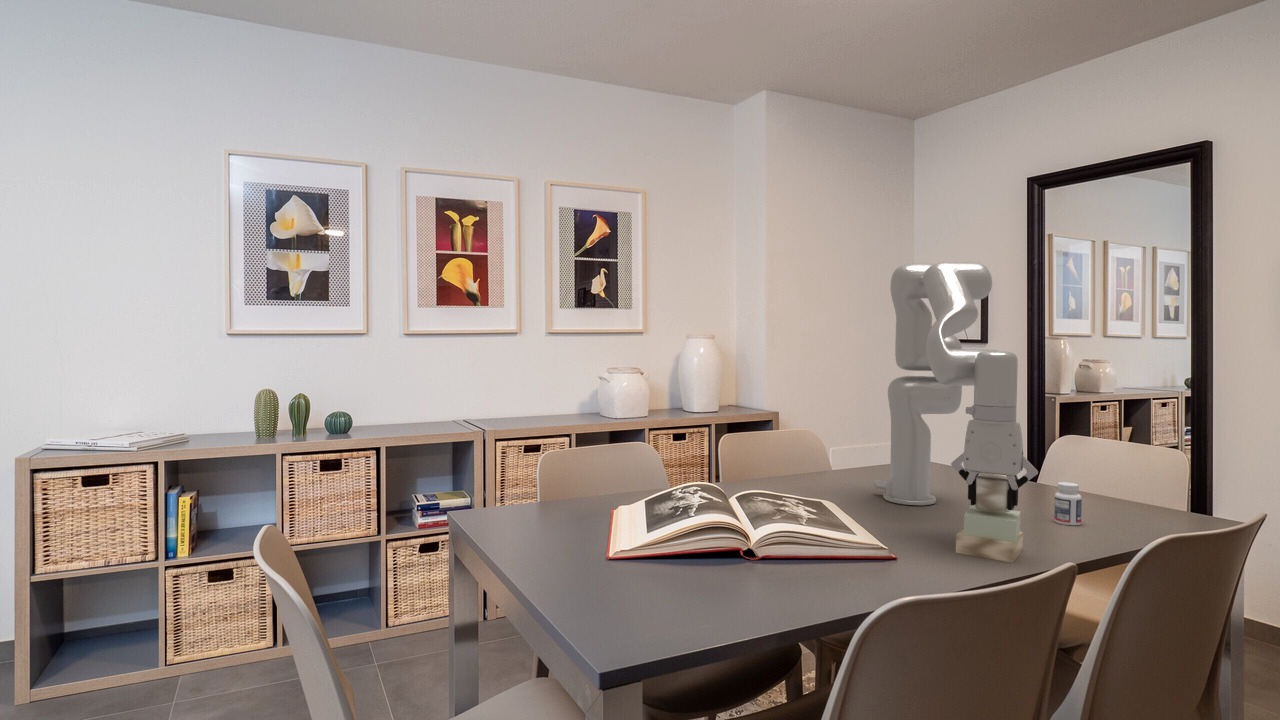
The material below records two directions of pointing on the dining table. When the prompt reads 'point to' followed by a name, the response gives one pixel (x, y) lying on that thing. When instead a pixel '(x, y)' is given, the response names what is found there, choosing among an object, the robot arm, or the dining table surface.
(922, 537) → the dining table surface
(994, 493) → the marbled beige cylinder
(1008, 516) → the tower top block
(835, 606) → the dining table surface
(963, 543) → the tower base block
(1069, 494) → the pill bottle
